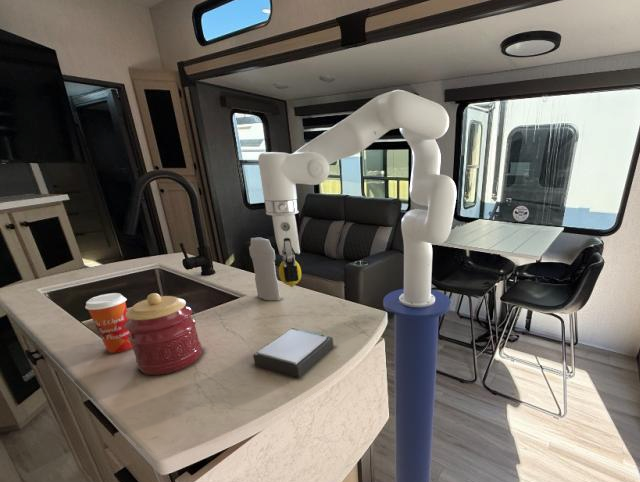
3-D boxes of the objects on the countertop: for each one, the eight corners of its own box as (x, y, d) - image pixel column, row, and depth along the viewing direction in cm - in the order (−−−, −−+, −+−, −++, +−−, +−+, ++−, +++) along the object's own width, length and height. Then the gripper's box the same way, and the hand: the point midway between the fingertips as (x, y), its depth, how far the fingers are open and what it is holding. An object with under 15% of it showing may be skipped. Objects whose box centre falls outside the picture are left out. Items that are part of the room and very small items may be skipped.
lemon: (276, 289, 83) (272, 259, 80) (290, 282, 88) (286, 254, 85) (294, 291, 81) (290, 262, 78) (307, 284, 86) (303, 256, 83)
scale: (293, 337, 88) (292, 326, 87) (333, 347, 84) (332, 335, 82) (254, 365, 76) (252, 352, 75) (299, 378, 72) (297, 364, 70)
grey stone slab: (253, 297, 114) (242, 237, 106) (261, 293, 117) (252, 235, 110) (277, 302, 110) (267, 240, 103) (284, 297, 114) (276, 237, 106)
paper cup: (97, 357, 79) (76, 306, 74) (109, 342, 85) (92, 294, 80) (135, 351, 82) (118, 301, 77) (145, 337, 88) (129, 290, 83)
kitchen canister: (132, 382, 70) (105, 310, 64) (146, 352, 81) (125, 288, 75) (200, 367, 75) (182, 299, 69) (205, 341, 86) (189, 280, 80)
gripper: (301, 211, 71) (309, 286, 77) (295, 202, 86) (302, 266, 92) (265, 212, 68) (277, 290, 75) (265, 203, 83) (274, 269, 90)
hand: (290, 276), depth 83 cm, fingers closed on lemon, 5 cm apart
